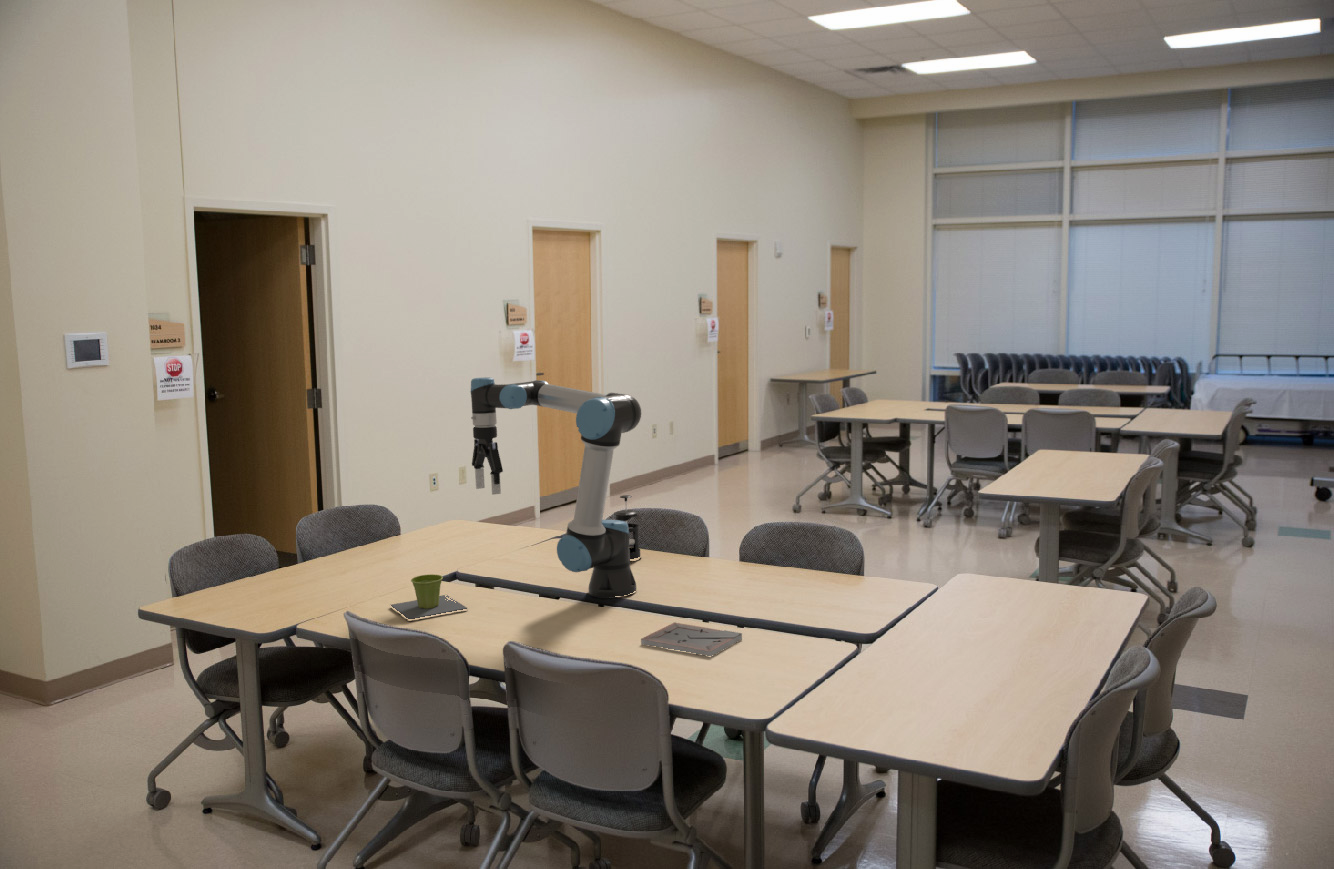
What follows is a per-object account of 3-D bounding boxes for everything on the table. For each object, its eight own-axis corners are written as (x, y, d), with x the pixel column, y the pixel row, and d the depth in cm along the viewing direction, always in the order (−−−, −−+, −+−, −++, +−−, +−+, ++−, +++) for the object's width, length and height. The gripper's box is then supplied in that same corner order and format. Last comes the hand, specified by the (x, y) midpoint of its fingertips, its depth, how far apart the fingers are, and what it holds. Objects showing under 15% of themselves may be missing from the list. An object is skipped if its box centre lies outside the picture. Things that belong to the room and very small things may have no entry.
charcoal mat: (467, 611, 315) (467, 607, 315) (408, 622, 306) (408, 618, 306) (446, 597, 331) (446, 594, 330) (390, 607, 321) (390, 604, 321)
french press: (648, 558, 374) (645, 494, 371) (630, 563, 366) (628, 499, 363) (623, 554, 381) (620, 491, 378) (605, 559, 374) (603, 496, 371)
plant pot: (446, 608, 316) (445, 580, 315) (415, 612, 312) (413, 584, 311) (441, 600, 324) (440, 572, 323) (410, 604, 321) (408, 576, 320)
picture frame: (742, 641, 281) (674, 630, 293) (742, 632, 281) (674, 621, 293) (710, 660, 268) (641, 647, 279) (710, 650, 267) (640, 638, 279)
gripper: (459, 423, 344) (463, 487, 347) (488, 430, 323) (492, 497, 325) (481, 421, 348) (484, 484, 350) (511, 428, 327) (514, 495, 329)
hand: (488, 491), depth 338 cm, fingers open, 13 cm apart
